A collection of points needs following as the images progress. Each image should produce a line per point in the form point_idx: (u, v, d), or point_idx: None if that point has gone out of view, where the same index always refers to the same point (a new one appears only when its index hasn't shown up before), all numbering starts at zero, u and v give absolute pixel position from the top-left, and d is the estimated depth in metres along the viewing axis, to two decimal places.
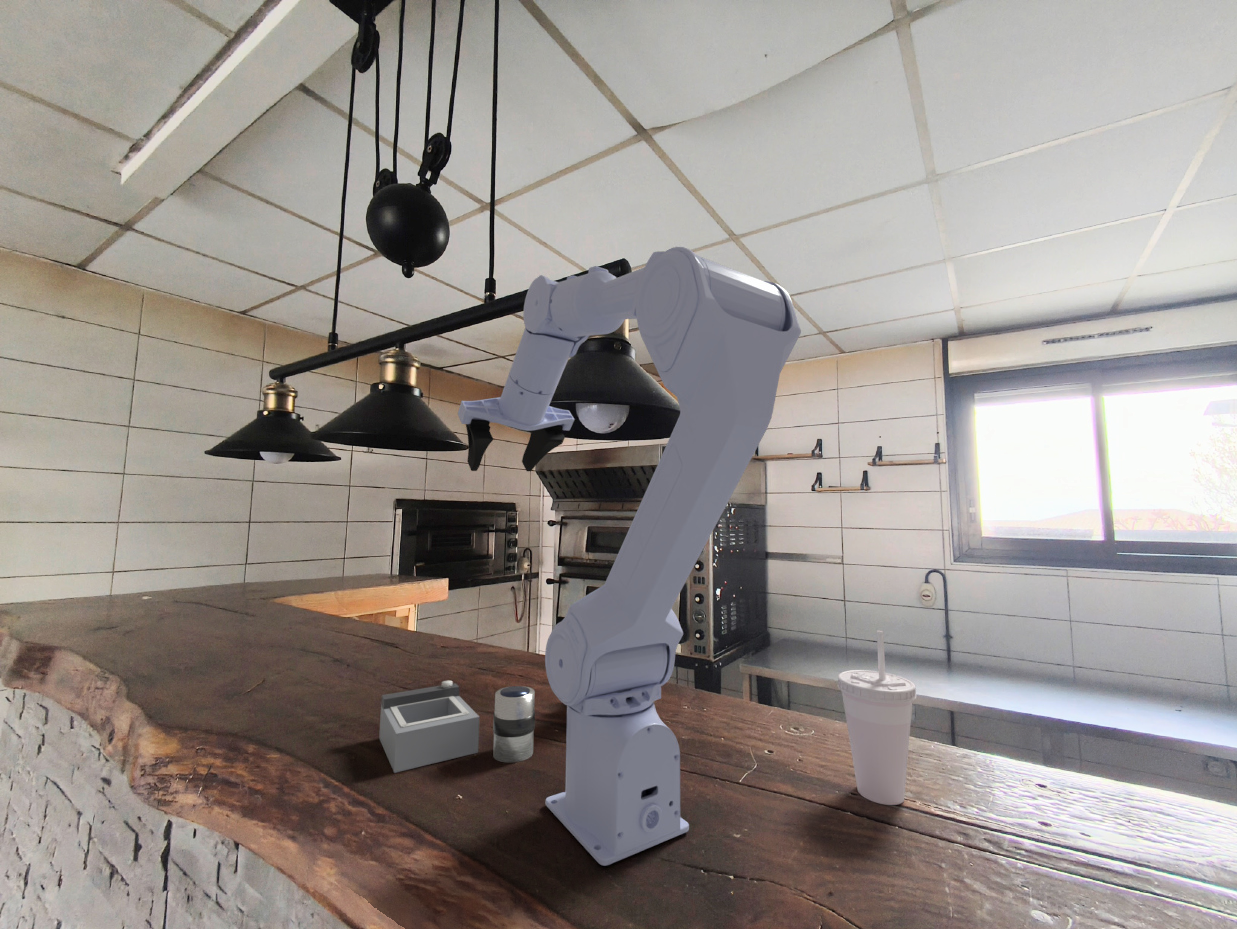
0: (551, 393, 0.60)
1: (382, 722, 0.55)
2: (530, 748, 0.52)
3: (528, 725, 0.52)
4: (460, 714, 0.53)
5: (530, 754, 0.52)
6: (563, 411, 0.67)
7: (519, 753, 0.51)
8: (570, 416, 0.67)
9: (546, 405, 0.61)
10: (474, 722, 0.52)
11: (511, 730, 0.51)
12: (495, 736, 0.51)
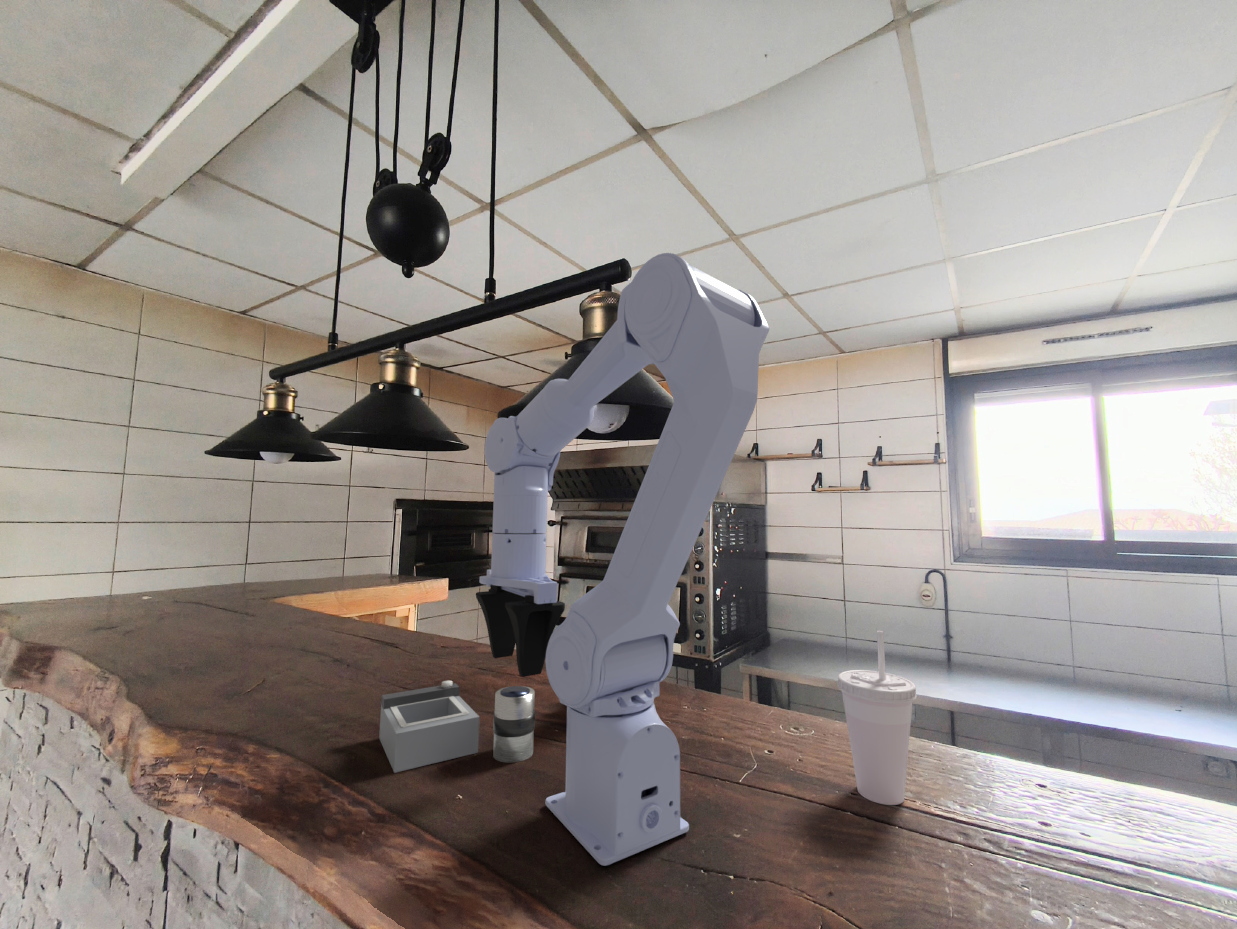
0: None
1: (382, 722, 0.55)
2: (530, 748, 0.52)
3: (528, 725, 0.52)
4: (460, 714, 0.53)
5: (530, 754, 0.52)
6: (490, 571, 0.59)
7: (519, 753, 0.51)
8: None
9: None
10: (474, 722, 0.52)
11: (511, 730, 0.51)
12: (495, 736, 0.51)
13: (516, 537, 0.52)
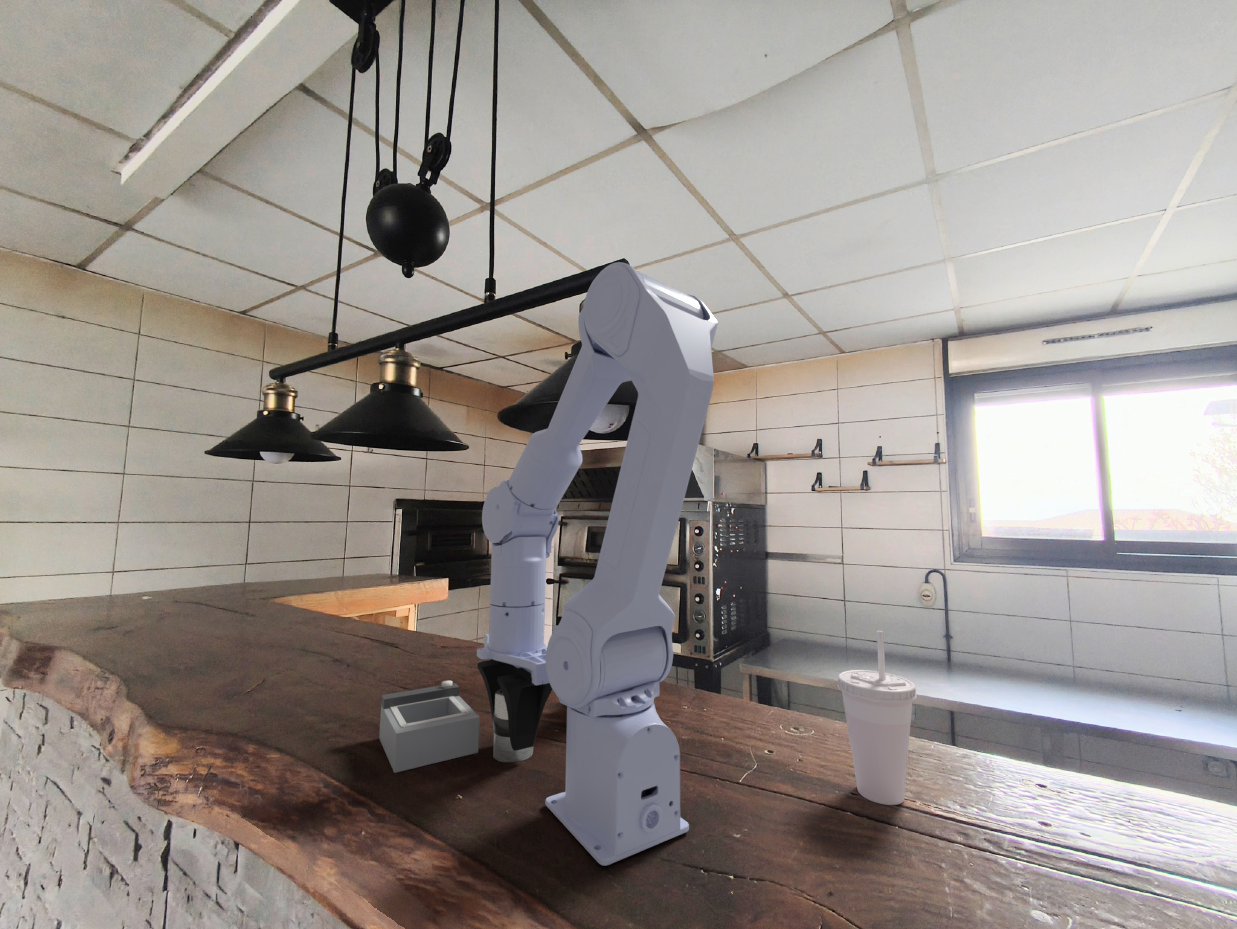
0: None
1: (382, 722, 0.55)
2: (530, 748, 0.52)
3: None
4: (460, 714, 0.53)
5: (530, 754, 0.52)
6: None
7: (519, 753, 0.51)
8: None
9: None
10: (474, 722, 0.52)
11: None
12: (495, 736, 0.51)
13: (514, 610, 0.51)
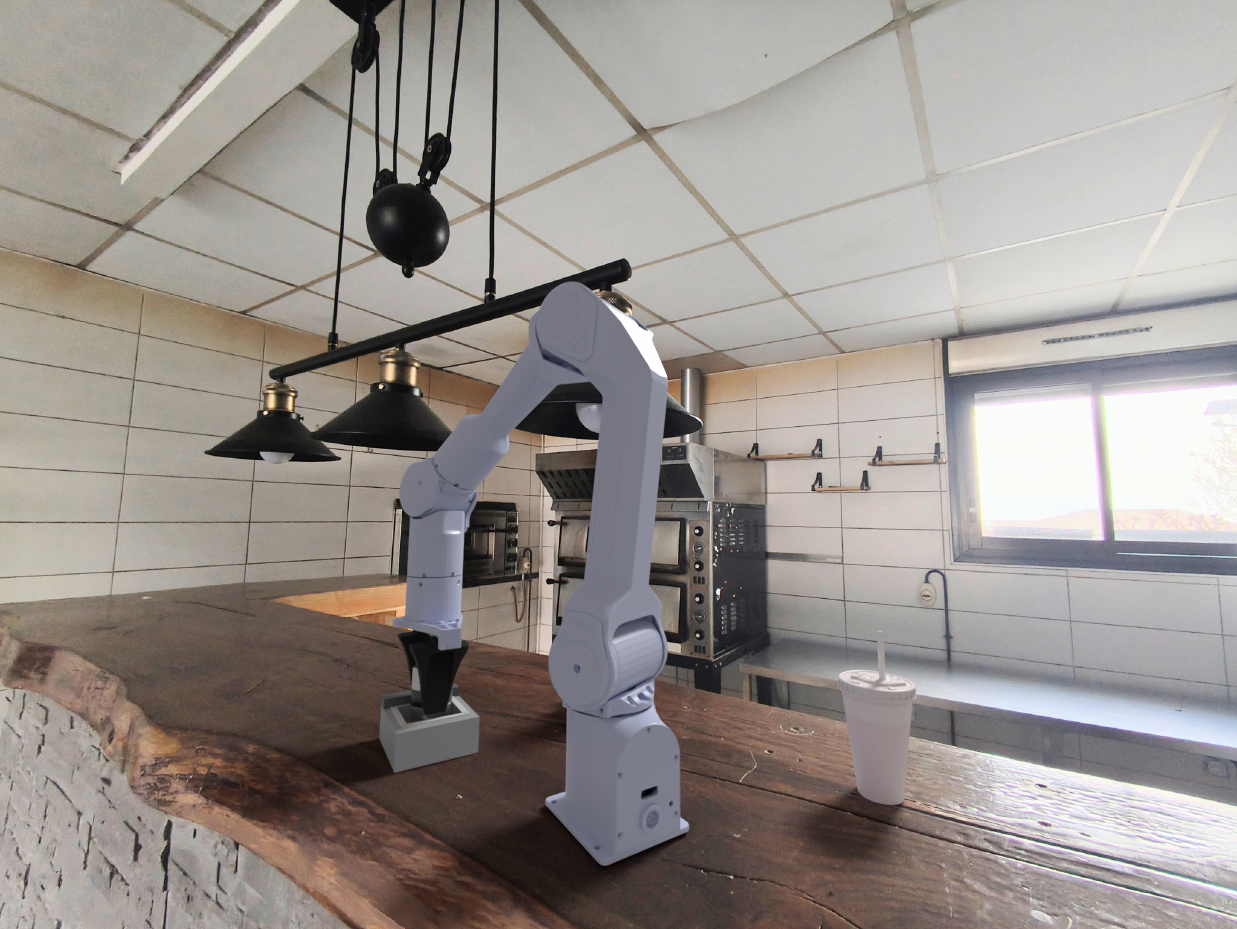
0: None
1: (382, 722, 0.55)
2: None
3: None
4: (460, 714, 0.53)
5: None
6: None
7: None
8: None
9: None
10: (474, 722, 0.52)
11: None
12: (411, 707, 0.54)
13: (427, 581, 0.53)
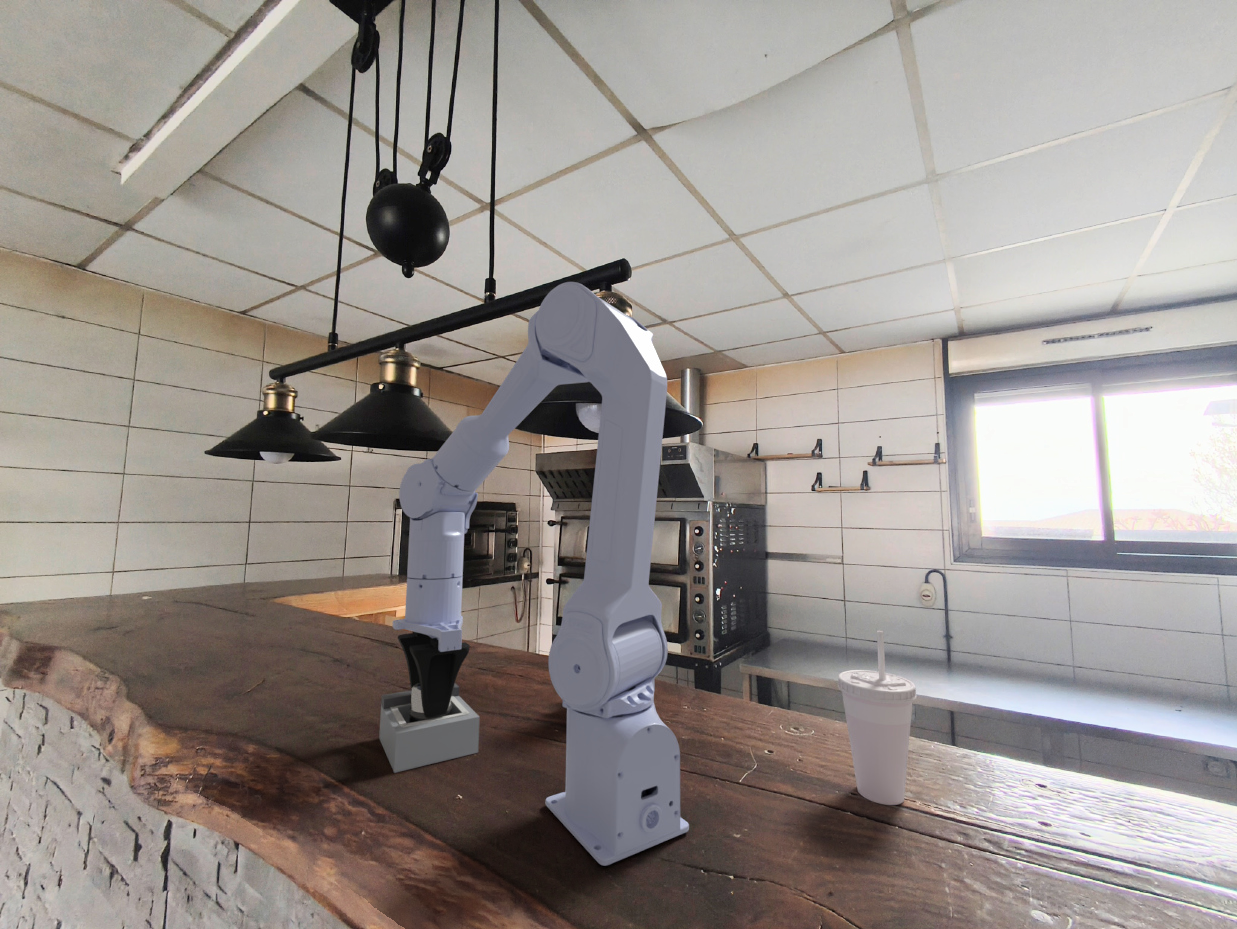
0: None
1: (382, 722, 0.55)
2: None
3: None
4: (460, 714, 0.53)
5: None
6: None
7: None
8: None
9: None
10: (474, 722, 0.52)
11: None
12: None
13: (427, 582, 0.53)
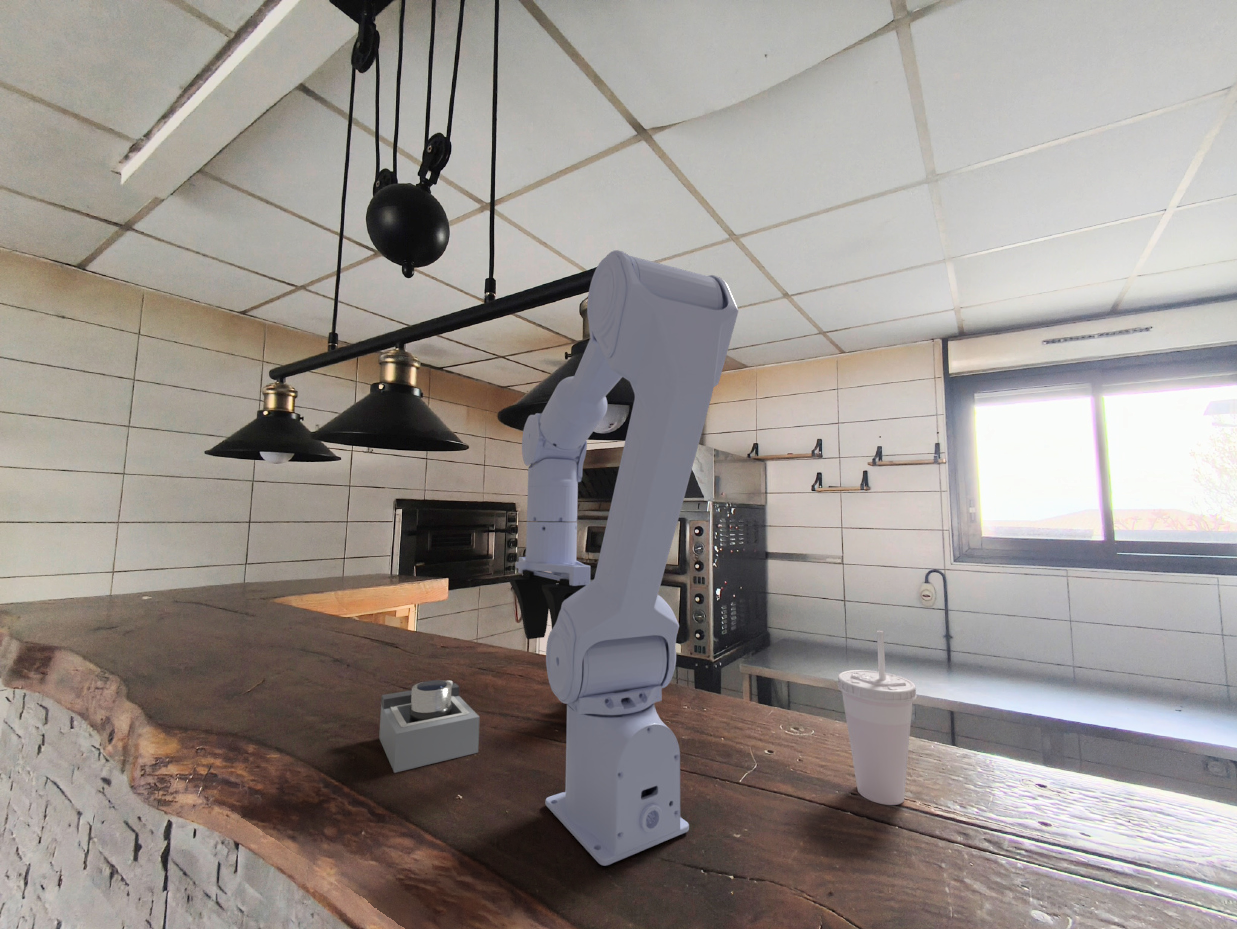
0: None
1: (382, 722, 0.55)
2: None
3: None
4: (460, 714, 0.53)
5: None
6: (522, 558, 0.63)
7: None
8: None
9: None
10: (474, 722, 0.52)
11: None
12: None
13: (550, 525, 0.56)
